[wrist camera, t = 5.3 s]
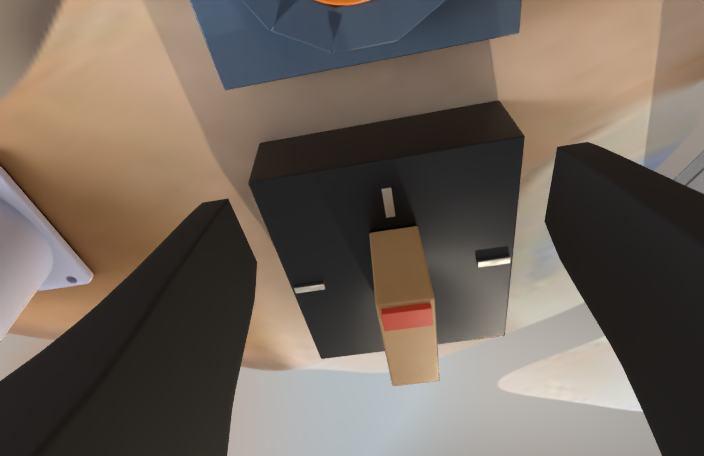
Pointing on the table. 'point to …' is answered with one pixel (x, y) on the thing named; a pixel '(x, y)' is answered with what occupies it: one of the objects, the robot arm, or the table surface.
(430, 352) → the tan rectangular block
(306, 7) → the button box
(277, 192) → the control panel
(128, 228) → the table surface
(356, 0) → the button
